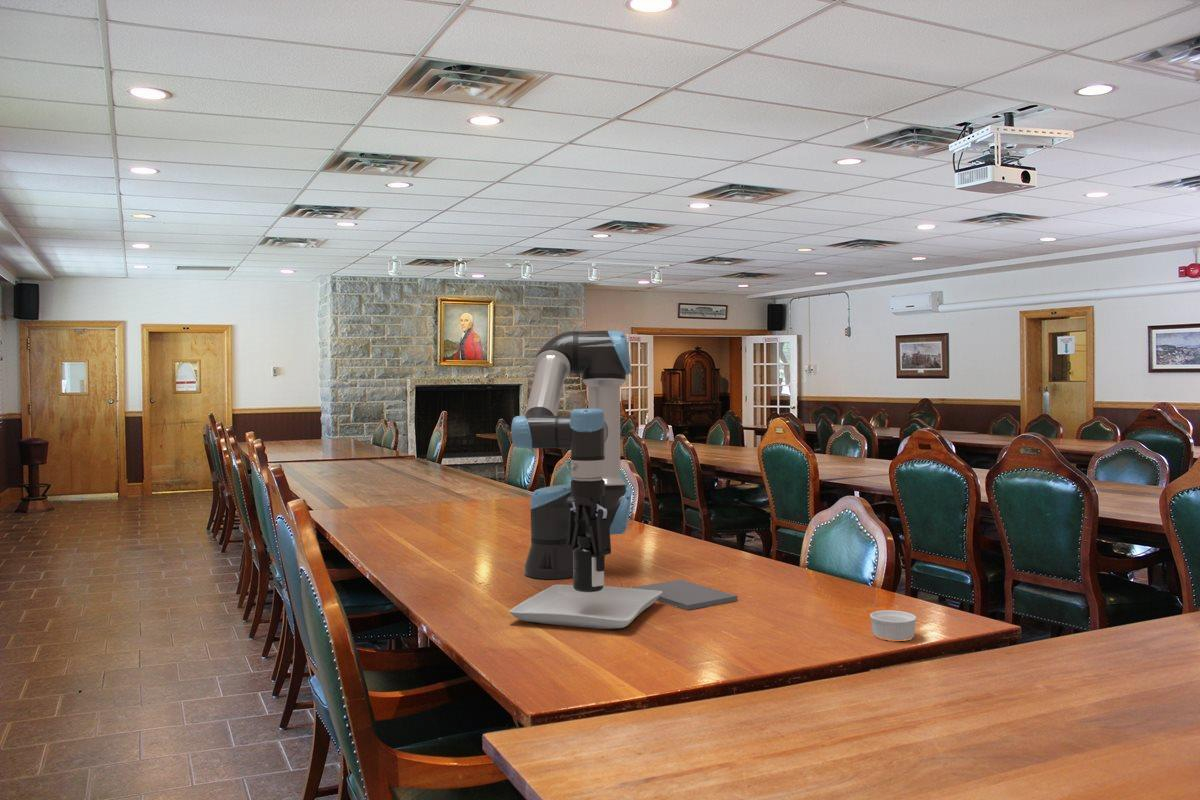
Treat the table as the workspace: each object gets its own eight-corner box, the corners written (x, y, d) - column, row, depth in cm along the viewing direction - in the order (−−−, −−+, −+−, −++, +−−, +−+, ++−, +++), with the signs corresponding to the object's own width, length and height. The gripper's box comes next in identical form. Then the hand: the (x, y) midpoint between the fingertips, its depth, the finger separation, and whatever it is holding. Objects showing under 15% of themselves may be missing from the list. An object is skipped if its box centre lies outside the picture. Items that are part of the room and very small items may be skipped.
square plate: (664, 605, 210) (664, 588, 210) (629, 638, 184) (628, 619, 184) (555, 597, 219) (554, 581, 219) (506, 627, 193) (506, 608, 193)
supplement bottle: (600, 593, 197) (600, 538, 197) (569, 592, 199) (569, 537, 198) (606, 586, 204) (606, 532, 204) (577, 585, 206) (576, 532, 205)
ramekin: (893, 646, 177) (893, 623, 177) (860, 634, 185) (860, 613, 184) (926, 639, 181) (926, 617, 181) (892, 628, 189) (892, 607, 188)
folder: (680, 584, 230) (680, 579, 230) (737, 600, 212) (737, 595, 212) (632, 592, 221) (632, 587, 221) (687, 610, 204) (687, 605, 204)
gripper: (550, 475, 207) (550, 576, 208) (598, 484, 191) (599, 593, 191) (577, 473, 211) (578, 572, 212) (627, 481, 195) (628, 588, 195)
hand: (588, 582), depth 201 cm, fingers closed on supplement bottle, 7 cm apart
